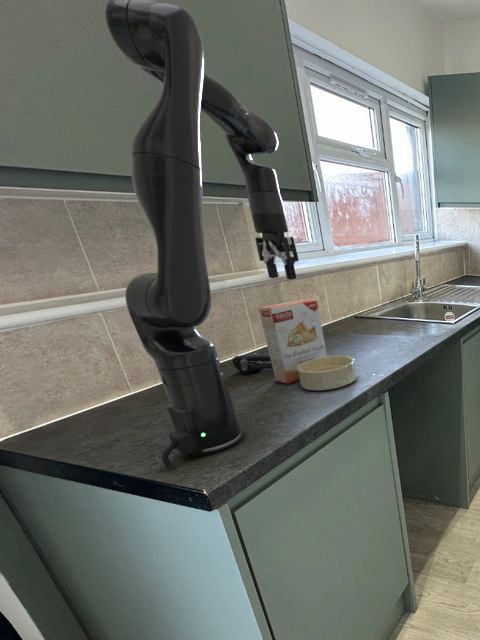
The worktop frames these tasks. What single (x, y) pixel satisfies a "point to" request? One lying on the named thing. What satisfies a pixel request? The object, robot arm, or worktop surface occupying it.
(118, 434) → the worktop surface
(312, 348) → the cracker box
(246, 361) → the can opener
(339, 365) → the bowl
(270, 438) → the worktop surface
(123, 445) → the worktop surface
